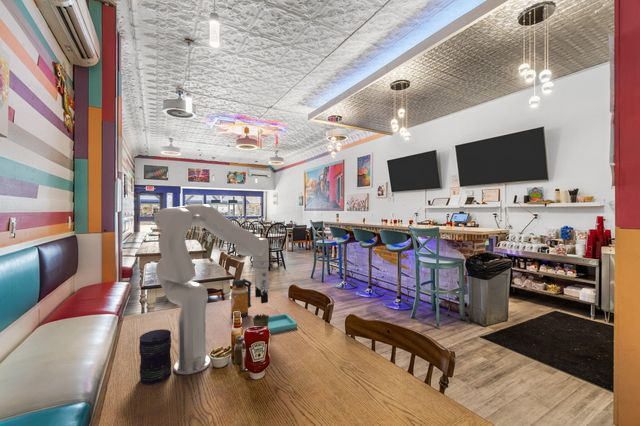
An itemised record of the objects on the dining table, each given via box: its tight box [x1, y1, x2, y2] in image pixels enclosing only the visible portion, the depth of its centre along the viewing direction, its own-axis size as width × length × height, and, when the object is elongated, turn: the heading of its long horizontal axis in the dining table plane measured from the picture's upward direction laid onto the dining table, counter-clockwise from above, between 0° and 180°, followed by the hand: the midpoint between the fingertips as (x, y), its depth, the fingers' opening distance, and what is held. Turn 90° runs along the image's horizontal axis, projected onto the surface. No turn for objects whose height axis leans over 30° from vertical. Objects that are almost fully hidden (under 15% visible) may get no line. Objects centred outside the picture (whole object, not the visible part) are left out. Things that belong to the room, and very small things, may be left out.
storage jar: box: [138, 328, 172, 386], centre depth 104 cm, size 10×10×15 cm
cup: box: [252, 313, 270, 327], centre depth 139 cm, size 8×7×8 cm
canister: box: [230, 278, 253, 318], centre depth 163 cm, size 9×11×20 cm
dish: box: [268, 313, 298, 335], centre depth 148 cm, size 15×15×2 cm
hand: (261, 299), depth 139 cm, fingers open, 9 cm apart
